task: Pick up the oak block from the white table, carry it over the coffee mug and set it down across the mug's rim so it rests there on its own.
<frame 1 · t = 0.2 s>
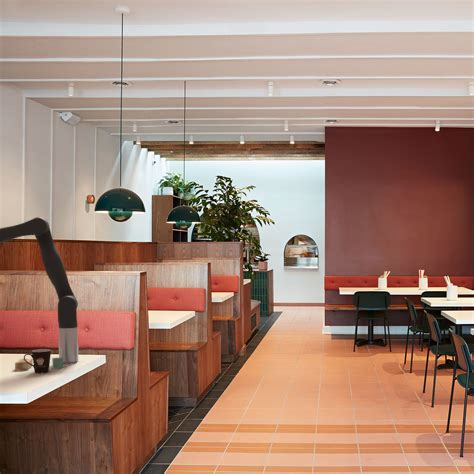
green cube: (57, 367, 330), on the table
coffee mug: (38, 372, 318), on the table
oak block: (24, 368, 329), on the table
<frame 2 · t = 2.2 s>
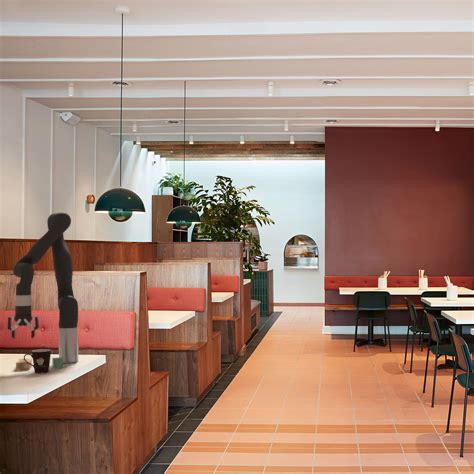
hand: (23, 338, 330), 14 cm above the table, tool pointing down, fingers open, 8 cm apart
nothing on the table moved.
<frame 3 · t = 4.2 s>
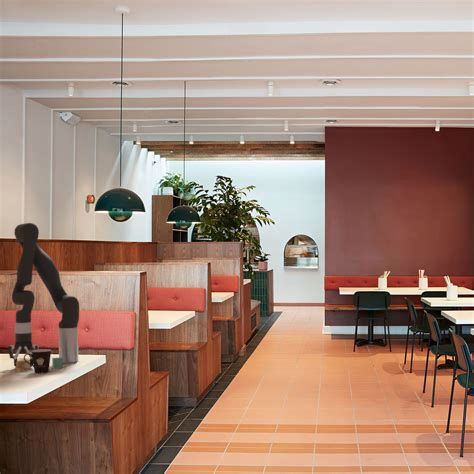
hand: (23, 366, 329), 1 cm above the table, tool pointing down, fingers closed on oak block, 6 cm apart
oak block: (23, 368, 329), on the table, touching gripper
everything else where it was.
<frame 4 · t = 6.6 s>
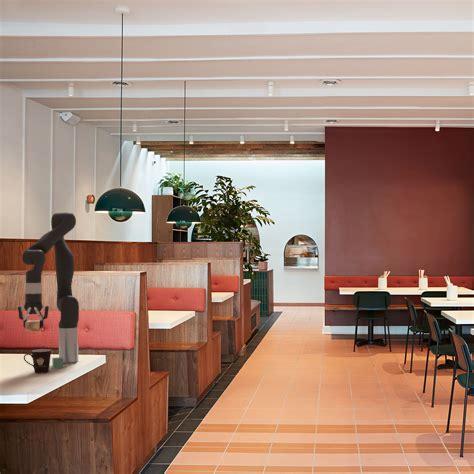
hand: (33, 328, 321), 20 cm above the table, tool pointing down, fingers closed on oak block, 6 cm apart
oak block: (33, 329, 321), point 19 cm above the table, touching gripper
everything else where it was.
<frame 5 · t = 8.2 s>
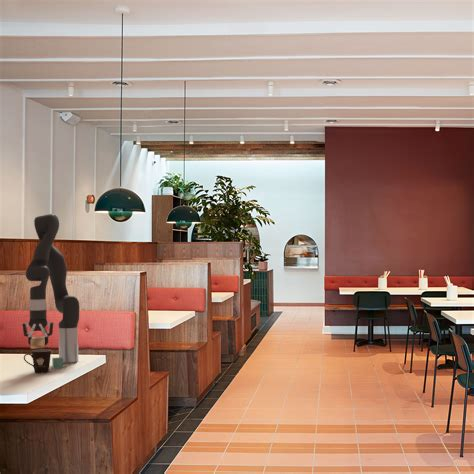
hand: (38, 345, 319), 12 cm above the table, tool pointing down, fingers closed on oak block, 6 cm apart
oak block: (38, 346, 319), point 12 cm above the table, touching gripper
everything else where it was.
when the fingers open (12 cm above the table, at t = 9.2 s): oak block drops 1 cm, resting on coffee mug.
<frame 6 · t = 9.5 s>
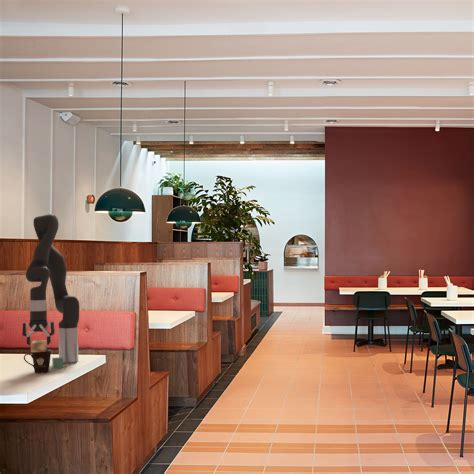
hand: (38, 344, 319), 13 cm above the table, tool pointing down, fingers open, 8 cm apart
coffee mug: (38, 372, 318), on the table, touching oak block
oak block: (38, 350, 319), point 10 cm above the table, touching coffee mug
everything else where it was.
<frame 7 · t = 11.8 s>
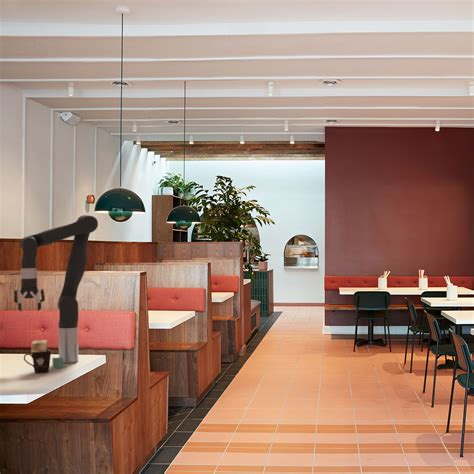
hand: (29, 310, 335), 27 cm above the table, tool pointing down, fingers open, 8 cm apart
nothing on the table moved.
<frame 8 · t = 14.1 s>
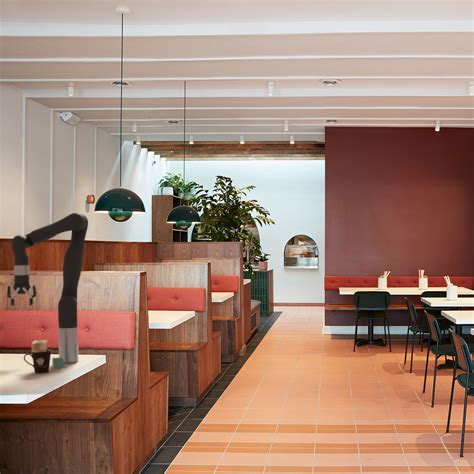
hand: (22, 305, 352), 28 cm above the table, tool pointing down, fingers open, 8 cm apart
nothing on the table moved.
at the end: oak block point 10.0 cm above the table; oak block 0.5 cm from the coffee mug (horizontally); oak block touching coffee mug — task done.
